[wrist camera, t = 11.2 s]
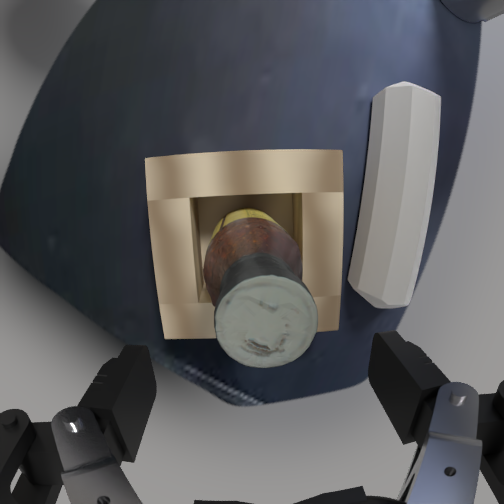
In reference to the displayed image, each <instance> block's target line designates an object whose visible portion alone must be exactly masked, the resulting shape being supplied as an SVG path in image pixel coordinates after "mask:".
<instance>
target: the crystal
mask: <svg viewBox="0 0 504 504" xmlns="http://www.w3.org/2000/svg"><path fill="white" fill-rule="evenodd" d="M440 113H441V96H439V95H437V94H435V93H434V92H432V91H430V90H427V89H425V88H423V87H420V86H418V85H415V84H412V83H409V82H405V81H403V82H400V83H397V84H394V85H391V86H388V87H386V88H384V89H383V90H382V91H381V92H379V93H378V94H377V95H375V96H374V97H373V103H372V116H371V127H370V137H369V147H368V156H367V164H366V172H365V180H364V187H363V194H362V201H361V208H360V214H359V220H358V226H357V232H356V238H355V243H354V249H353V254H352V259H351V265H350V270H349V275H348V279H347V280H348V281H349V283H350V284H351V286H352V288H353V289H354V290H355V291H356V292H358V293H359V294H360V295H361V296H362V297H363V298H365V299H366V300H367V301H368V302H369V303H370V304H371V305H373V306H374V307H376V308H397V307H404V306H408V304H409V303H410V301H411V298H412V294H413V290H414V287H415V283H416V279H417V275H418V270H419V266H420V262H421V257H422V253H423V248H424V243H425V238H426V233H427V228H428V222H429V216H430V210H431V204H432V197H433V190H434V183H435V175H436V166H437V157H438V145H439V132H440Z"/></svg>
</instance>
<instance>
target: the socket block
mask: <svg viewBox="0 0 504 504" xmlns="http://www.w3.org/2000/svg"><path fill="white" fill-rule="evenodd" d="M145 169H146V186H147V200H148V213H149V224H150V234H151V244H152V253H153V262H154V270H155V278H156V285H157V293H158V300H159V306H160V313H161V319H162V325H163V331H164V337H165V339H202V338H216V332H215V328H214V310H215V307H214V306H213V304H212V301H211V297H210V295H209V293H208V291H207V287H206V283H205V281H204V276H203V268H204V261H205V255H206V251H207V248H208V245H209V243H210V240H211V237H212V235H213V232H214V230H215V228H216V226H217V224H218V223H219V221H220V220H221V219H222V218H223V217H224V216H225V215H227V214H228V213H229V212H231V211H233V210H236V209H240V208H254V209H258V210H260V211H263V212H265V213H266V214H267V215H269V216H270V217H271V218H272V219H273V220H274V221H275V222H276V223H278V224H279V225H280V226H281V227H282V228H283V229H285V230H286V231H287V233H288V234H289V235H290V236H291V238H292V239H293V240H294V241H295V242H297V244H298V246H299V249H300V254H301V260H302V267H303V273H302V282H304V284H305V285H306V286H307V288H308V290H309V291H310V293H311V295H312V297H313V299H314V301H315V304H316V306H317V311H318V327H317V332H322V331H333V330H338V328H339V315H340V300H341V281H342V257H343V152H342V150H309V149H293V150H248V151H226V152H210V153H196V154H183V155H172V156H162V157H152V158H145Z"/></svg>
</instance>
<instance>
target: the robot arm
mask: <svg viewBox="0 0 504 504" xmlns="http://www.w3.org/2000/svg"><path fill="white" fill-rule="evenodd" d="M441 1H442V3H443V4H444V5H445V6H446V7H447V8H448V9H449V10H450V11H451V12H452V13H453V14H455V15H456V16H457V17H459V18H461V19H462V20H464V21H467V22H470V23H477V22H479V21H484V22H486V21H488V20H490V19H493V18H495V17H497V16H499V15H501V14H504V0H441ZM368 377H369V382H370V384H371V386H372V388H373V389H374V392H375V393H376V395H377V397H378V399H379V401H380V403H381V404H382V406H383V408H384V410H385V412H386V413H387V415H388V417H389V419H390V421H391V423H392V424H393V426H394V428H395V430H396V432H397V434H398V435H399V437H400V439H401V441H402V443H403V445H404V444H407V443H411V442H415V441H416V443H417V444H418V446H417V449H416V451H415V454H414V456H413V459H412V462H411V465H410V468H409V471H408V473H407V476H406V478H405V481H404V483H403V486H402V488H401V491H400V493H399V495H398V497H397V499H396V500H395V499H391V498H387V497H380V496H366V495H365V492H364V489H363V486H360V487H355V488H350V489H345V490H341V491H335V492H329V493H323V494H320V495H318V496H315V497H312V498H309V499H306V500H303V501H300V502H297V503H294V504H473V503H474V498H475V493H476V487H477V482H478V476H479V469H480V470H481V472H482V474H483V476H484V477H485V479H486V481H487V483H488V485H489V486H490V488H491V490H492V492H493V493H494V495H495V497H496V499H497V501H498V503H499V504H504V380H503V381H502V382H501V383H500V385H499V387H498V389H497V392H496V393H492V394H480V395H478V393H477V391H476V390H475V389H474V388H473V387H471V386H469V385H468V384H465V383H461V382H450V381H449V379H448V378H447V377H446V376H445V375H444V374H443V373H442V371H441V370H440V369H439V368H438V367H437V366H436V365H435V364H434V363H432V360H431V359H430V358H429V357H427V356H426V354H425V353H424V351H423V350H422V349H421V348H420V347H418V346H416V345H414V344H413V343H411V342H409V341H407V342H405V340H404V339H403V338H402V337H401V336H400V335H399V334H398V332H397V331H395V330H393V331H387V332H379V333H375V335H374V337H373V342H372V349H371V356H370V362H369V368H368ZM155 397H156V380H155V375H154V371H153V367H152V362H151V358H150V353H149V350H148V347H147V346H145V345H126V346H125V347H124V348H123V350H122V351H121V353H120V355H119V356H118V358H112V359H110V360H109V361H108V362H106V363H105V364H104V365H103V366H102V367H101V369H100V370H99V372H98V373H97V376H96V377H95V378H94V380H93V383H91V385H90V386H89V388H88V389H87V391H86V393H85V394H84V396H83V397H82V399H81V401H80V402H79V404H78V406H73V407H68V408H65V409H63V410H61V411H59V412H58V413H57V414H56V415H55V416H54V417H53V419H52V422H35V423H32V422H31V420H30V419H29V417H28V415H27V413H26V412H24V411H23V410H19V409H10V410H6V411H4V412H2V413H0V504H55V503H56V501H57V498H58V495H59V493H60V490H61V487H62V485H64V486H65V489H66V492H67V495H68V497H69V500H70V502H71V504H142V502H141V501H140V499H139V497H138V496H137V494H136V493H135V491H134V489H133V488H132V486H131V484H130V483H129V481H128V479H127V478H126V476H125V474H124V472H123V471H122V469H121V467H120V465H121V462H122V461H126V462H134V461H135V458H136V455H137V452H138V449H139V446H140V442H141V439H142V436H143V433H144V430H145V427H146V424H147V421H148V418H149V415H150V412H151V409H152V406H153V403H154V400H155ZM18 468H19V469H20V470H21V472H22V474H21V475H20V477H19V479H18V482H17V484H16V486H15V488H14V490H13V492H12V494H11V491H10V485H11V482H12V480H13V478H14V476H15V474H16V472H17V470H18ZM194 504H252V503H245V502H239V501H202V500H195V501H194Z"/></svg>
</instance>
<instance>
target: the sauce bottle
mask: <svg viewBox="0 0 504 504" xmlns="http://www.w3.org/2000/svg"><path fill="white" fill-rule="evenodd" d="M302 273H303V267H302V260H301V254H300V249H299V246H298V244H297V242H295V241H294V240H293V239H292V238H291V236H290V235H289V234H288V233H287V231H286V230H285V229H283V228H282V227H281V226H280V225H279V224H278V223H276V222H275V221H274V220H273V219H272V218H271V217H270V216H269V215H267V214H266V213H265V212H263V211H260V210H258V209H254V208H240V209H236V210H233V211H231V212H229V213H228V214H227V215H225V216H224V217H223V218H222V219H221V220H220V221H219V223H218V224H217V226H216V228H215V230H214V232H213V235H212V237H211V240H210V243H209V245H208V248H207V251H206V255H205V261H204V268H203V276H204V281H205V283H206V287H207V291H208V293H209V295H210V297H211V301H212V304H213V306H214V307H215V310H214V328H215V332H216V338H217V340H218V342H219V344H220V346H221V348H222V349H223V350H224V351H225V352H226V353H227V355H228V356H230V357H231V358H233V359H234V360H236V361H237V362H238V363H241V364H243V365H245V366H249V367H257V368H271V367H277V366H282V365H285V364H287V363H289V362H292V361H294V360H295V359H297V358H298V357H299V356H301V355H302V354H303V353H304V352H305V351H306V350H307V348H308V347H309V346H310V344H311V342H312V340H313V338H314V336H315V334H316V332H317V327H318V311H317V306H316V304H315V301H314V299H313V297H312V295H311V293H310V291H309V290H308V288H307V286H306V285H305V284H304V282H302Z"/></svg>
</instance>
